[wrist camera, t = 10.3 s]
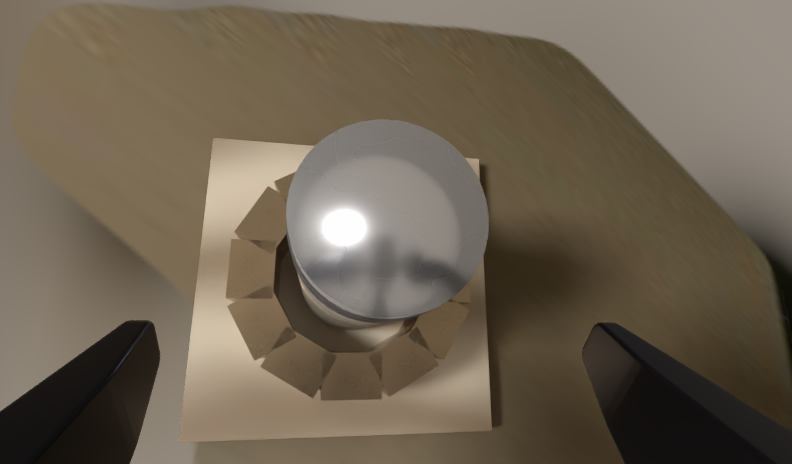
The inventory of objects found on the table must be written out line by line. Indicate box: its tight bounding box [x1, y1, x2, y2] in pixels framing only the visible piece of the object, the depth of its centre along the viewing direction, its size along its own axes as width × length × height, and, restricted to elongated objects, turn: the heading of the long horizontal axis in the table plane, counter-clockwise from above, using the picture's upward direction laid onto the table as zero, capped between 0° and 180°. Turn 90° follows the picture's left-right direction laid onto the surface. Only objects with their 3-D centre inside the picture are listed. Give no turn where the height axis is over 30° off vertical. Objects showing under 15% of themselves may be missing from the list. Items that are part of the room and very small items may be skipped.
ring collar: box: [226, 172, 471, 401], centre depth 20 cm, size 10×10×3 cm
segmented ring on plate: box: [179, 138, 492, 442], centre depth 21 cm, size 14×14×1 cm
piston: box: [286, 119, 489, 330], centre depth 15 cm, size 5×5×12 cm
